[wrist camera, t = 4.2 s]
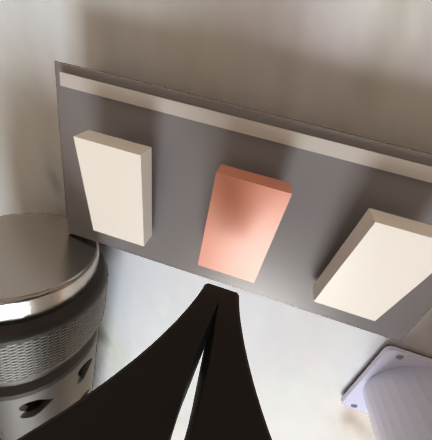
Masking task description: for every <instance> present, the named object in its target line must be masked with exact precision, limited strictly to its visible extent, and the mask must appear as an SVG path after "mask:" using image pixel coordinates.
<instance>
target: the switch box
mask: <svg viewBox="0 0 432 440" xmlns="http://www.w3.org/2000/svg"><path fill="white" fill-rule="evenodd" d="M55 73H56V86H57V99H58V111H59V124H60V137H61V149H62V162H63V175H64V187H65V200H66V213H67V225H68V233H71V234H74V235H77V236H80V237H83V238H86V239H89V240H92V241H95V242H98V243H101V244H105V245H108V246H111V247H114V248H117V249H120V250H123V251H126V252H129V253H132V254H135V255H138V256H141V257H144V258H147V259H150V260H153V261H156V262H159V263H162V264H165V265H168V266H172V267H175V268H178V269H181V270H184V271H187V272H190V273H193V274H196V275H199V276H202V277H205V278H208V279H211V280H214V281H217V282H220V283H223V284H226V285H229V286H232V287H236V288H239V289H242V290H245V291H248V292H251V293H254V294H257V295H260V296H263V297H266V298H269V299H272V300H275V301H278V302H281V303H284V304H287V305H290V306H293V307H296V308H300V309H303V310H306V311H309V312H312V313H315V314H318V315H321V316H324V317H327V318H330V319H333V320H336V321H339V322H342V323H345V324H348V325H351V326H354V327H357V328H360V329H363V330H367V331H370V332H373V333H376V334H379V335H382V336H385V337H388V338H391V339H394V340H397V341H401V340H402V339H403V338H404V337H405V336H406V335H407V333H408V332H409V331H410V330H411V329H412V328H413V327H414V326H415V324H416V323H417V322H418V321H419V320H420V319H421V318H422V317H423V316H424V314H425V313H426V312H427V311H428V310H429V309H430V308H431V307H432V273H431V274H430V275H429V276H428V277H427V278H426V279H424V280H423V281H422V282H421V283H420V284H418V285H417V286H416V287H415V288H414V289H412V290H411V291H410V292H409V293H408V294H407V295H405V296H404V297H403V298H402V299H401V300H399V301H398V302H397V303H396V304H395V305H393V306H392V307H391V308H390V309H389V310H388V311H386V312H385V313H384V314H383V315H382V316H380V317H379V318H378V319H377V320H376V321H373V320H370V319H366V318H363V317H360V316H357V315H354V314H351V313H348V312H345V311H342V310H339V309H336V308H332V307H329V306H326V305H323V304H320V303H317V302H314V298H313V285H314V284H315V282H316V281H317V280H318V278H319V277H320V276H321V274H322V273H323V271H324V270H325V269H326V267H327V266H328V264H329V263H330V262H331V260H332V259H333V257H334V256H335V255H336V253H337V252H338V251H339V249H340V248H341V246H342V245H343V244H344V242H345V241H346V239H347V238H348V237H349V235H350V234H351V232H352V231H353V230H354V228H355V227H356V226H357V224H358V223H359V221H360V220H361V219H362V217H363V216H364V214H365V213H366V212H367V210H368V209H369V208H371V209H375V210H378V211H382V212H385V213H389V214H393V215H396V216H400V217H403V218H407V219H411V220H414V221H418V222H421V223H425V224H429V225H432V154H428V153H424V152H420V151H416V150H412V149H408V148H404V147H400V146H396V145H392V144H388V143H384V142H380V141H376V140H372V139H368V138H364V137H360V136H356V135H352V134H348V133H344V132H340V131H336V130H332V129H328V128H324V127H320V126H316V125H312V124H308V123H304V122H300V121H296V120H292V119H288V118H284V117H280V116H276V115H272V114H268V113H264V112H260V111H256V110H252V109H248V108H244V107H240V106H236V105H232V104H228V103H225V102H221V101H217V100H213V99H209V98H205V97H201V96H197V95H193V94H189V93H185V92H181V91H177V90H173V89H169V88H165V87H161V86H157V85H153V84H149V83H145V82H141V81H137V80H133V79H129V78H125V77H121V76H117V75H113V74H109V73H105V72H101V71H97V70H93V69H88V68H84V67H79V66H75V65H71V64H66V63H62V62H57V61H55ZM87 130H91V131H95V132H98V133H102V134H106V135H109V136H113V137H116V138H120V139H124V140H127V141H131V142H134V143H138V144H142V145H145V146H149V147H152V236H151V238H150V239H149V240H148V242H147V243H146V244H145V246H141V245H138V244H135V243H131V242H128V241H125V240H122V239H119V238H116V237H113V236H110V235H107V234H104V233H101V232H97V231H94V230H93V226H92V221H91V216H90V212H89V207H88V202H87V198H86V193H85V188H84V184H83V179H82V174H81V170H80V165H79V160H78V156H77V151H76V146H75V142H74V137H73V136H75V135H78V134H80V133H82V132H85V131H87ZM221 164H223V165H226V166H230V167H234V168H237V169H241V170H244V171H248V172H252V173H255V174H259V175H262V176H266V177H270V178H273V179H277V180H280V181H284V182H288V183H291V184H292V196H291V198H290V200H289V203H288V205H287V207H286V210H285V212H284V214H283V217H282V219H281V221H280V224H279V226H278V228H277V230H276V233H275V235H274V237H273V240H272V242H271V244H270V247H269V249H268V251H267V254H266V256H265V258H264V261H263V263H262V265H261V268H260V270H259V272H258V275H257V277H256V279H255V282H254V283H252V282H249V281H246V280H243V279H240V278H237V277H234V276H231V275H227V274H224V273H221V272H218V271H215V270H212V269H209V268H206V267H203V266H200V265H198V261H199V256H200V251H201V246H202V241H203V236H204V231H205V226H206V221H207V216H208V211H209V206H210V201H211V196H212V191H213V186H214V181H215V176H216V172H217V170H218V169H219V167H220V166H221Z"/></svg>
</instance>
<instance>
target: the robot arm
mask: <svg viewBox="0 0 432 440" xmlns="http://www.w3.org/2000/svg"><path fill="white" fill-rule="evenodd" d="M203 350H204V352H203ZM202 352H203V357H202V362H201V367H200V372H199V377H198V382H197V387H196V392H195V397H194V402H193V407H192V412H191V416H190V420H189V425H188V428H187V432H186V436H185V439H184V440H272V439H271V436H270V433H269V431H268V428H267V425H266V422H265V419H264V416H263V413H262V410H261V407H260V403H259V400H258V397H257V393H256V390H255V387H254V383H253V379H252V376H251V372H250V368H249V363H248V359H247V355H246V350H245V345H244V340H243V334H242V328H241V321H240V312H239V295H238V294H237V293H236V292H233V291H230V290H227V289H224V288H221V287H218V286H215V285H212V284H209V283H208V284H205V285H204V287H203V289H202V290H201V292H200V293H199V295H198V296H197V297H196V299H195V300H194V301H193V302H192V304H191V305H190V306H189V307H188V308H187V310H186V311H185V312H184V313H183V314H182V315H181V316H180V317H179V318H178V320H177V321H176V322H175V323H174V324H173V325H172V326H171V327H170V328H169V329H168V330H167V331H166V332H165V333H163V334H162V335H161V336H160V337H159V338H158V339H157V340H156V341H155V342H154V343H153V344H152V345H151V346H149V347H148V348H147V349H146V350H145V351H144V352H142V353H141V354H140V355H139V356H138V357H137V358H135V359H134V360H133V361H132V362H130V363H129V364H128V365H127V366H125V367H124V368H123V369H121V370H120V371H119V372H118V373H116V374H115V375H114V376H112V377H111V378H110V379H108V380H107V381H106V382H104V383H103V384H102V385H100V386H99V387H97V388H96V389H94V390H93V391H91V392H90V393H88V394H87V395H86V396H84V397H83V398H81V399H80V400H78V401H77V402H75V403H74V404H73V405H71V406H70V407H68V408H67V409H65V410H64V411H62V412H60V413H59V414H57V415H56V416H54V417H53V418H51V419H49V420H48V421H46V422H44V423H43V424H41V425H40V426H38V427H36V428H35V429H33V430H32V431H30V432H28V433H27V434H25V435H23V436H22V437H20V438H19V439H17V440H170V439H171V436H172V433H173V430H174V426H175V423H176V420H177V417H178V414H179V412H180V409H181V406H182V403H183V401H184V398H185V396H186V393H187V391H188V388H189V386H190V383H191V381H192V378H193V375H194V373H195V370H196V368H197V365H198V363H199V360H200V358H201V355H202ZM341 401H342V404H343V405H344V406H346V407H349V408H352V409H354V410H357V411H360V412H363V413H365V414H368V415H369V418H370V422H371V425H372V428H373V431H374V434H375V438H376V440H432V359H431V358H428V357H425V356H422V355H419V354H415V353H412V352H409V351H406V350H403V349H400V348H397V347H394V346H387V347H385V348H384V349H383V350H382V351H381V352H380V353H379V355H378V356H377V357H376V358H375V359H374V360H373V362H372V363H371V364H370V365H369V366H368V367H367V368H366V370H365V371H364V372H363V373H362V374H361V375H360V377H359V378H358V379H357V380H356V381H355V382H354V384H353V385H352V386H351V387H350V388H349V389H348V391H347V392H346V393H345V394H344V395H343V396H342V397H341Z"/></svg>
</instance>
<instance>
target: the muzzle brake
mask: <svg viewBox="0 0 432 440" xmlns="http://www.w3.org/2000/svg"><path fill="white" fill-rule="evenodd" d="M107 283H108V267H107V263H106V261H105V259H104V257H103V255H102V254H101V252H100V251H99V243H98V242H95V241H92V240H89V239H86V238H83V237H80V236H77V235H74V234H71V233H68V225H67V218H66V217H61V216H56V215H49V214H35V213H25V214H10V215H3V216H0V440H17V439H19V438H20V437H22V436H23V435H25V434H27V433H28V432H30V431H32V430H33V429H35V428H36V427H38V426H40V425H41V424H43V423H44V422H46V421H48V420H49V419H51V418H53V417H54V416H56V415H57V414H59V413H60V412H62V411H64V410H65V409H67V408H68V407H70V406H71V405H73V404H74V403H75V402H77V401H78V400H80V399H81V398H83V397H84V396H86V395H87V394H88V393H90V392H91V391H92V385H93V376H94V366H95V357H96V348H97V338H98V329H99V324H100V321H101V319H102V317H103V314H104V307H105V300H106V291H107Z"/></svg>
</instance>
